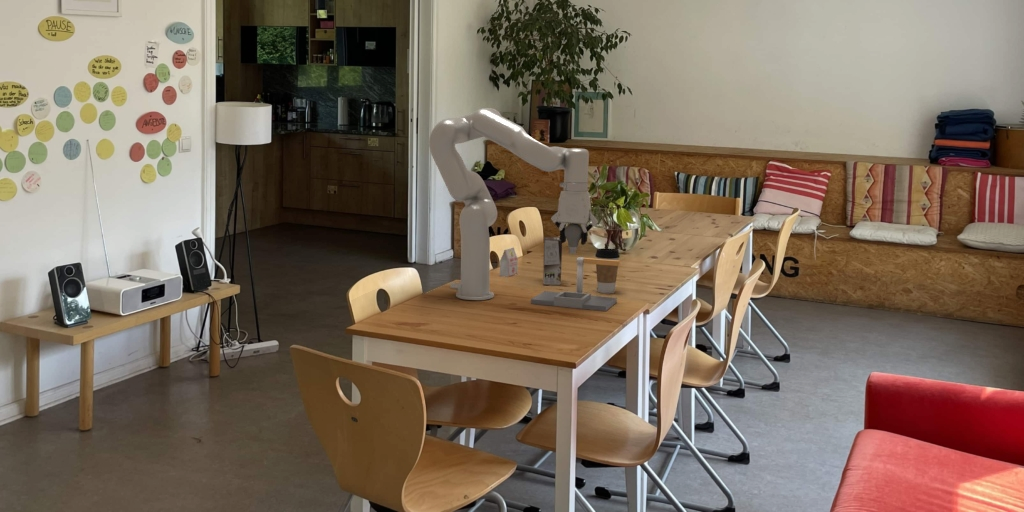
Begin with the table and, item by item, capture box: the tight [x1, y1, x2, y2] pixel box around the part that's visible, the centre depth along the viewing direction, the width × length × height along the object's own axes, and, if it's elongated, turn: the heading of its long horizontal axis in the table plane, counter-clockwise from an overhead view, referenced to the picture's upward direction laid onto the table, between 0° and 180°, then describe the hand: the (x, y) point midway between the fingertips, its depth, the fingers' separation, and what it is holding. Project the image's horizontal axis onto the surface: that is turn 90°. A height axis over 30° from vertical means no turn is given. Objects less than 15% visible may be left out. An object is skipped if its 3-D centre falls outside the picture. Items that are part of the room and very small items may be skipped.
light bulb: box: [564, 223, 583, 255], centre depth 305 cm, size 6×6×10 cm
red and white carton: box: [499, 247, 519, 278], centre depth 354 cm, size 4×7×10 cm, turn 151°
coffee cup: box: [595, 247, 620, 294], centre depth 328 cm, size 8×8×15 cm
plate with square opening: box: [530, 262, 618, 312], centre depth 309 cm, size 25×14×12 cm, turn 70°
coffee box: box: [542, 236, 563, 286], centre depth 341 cm, size 9×6×16 cm
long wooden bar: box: [576, 256, 621, 267], centre depth 312 cm, size 3×14×2 cm, turn 71°
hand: (573, 242), depth 305 cm, fingers closed on light bulb, 6 cm apart
